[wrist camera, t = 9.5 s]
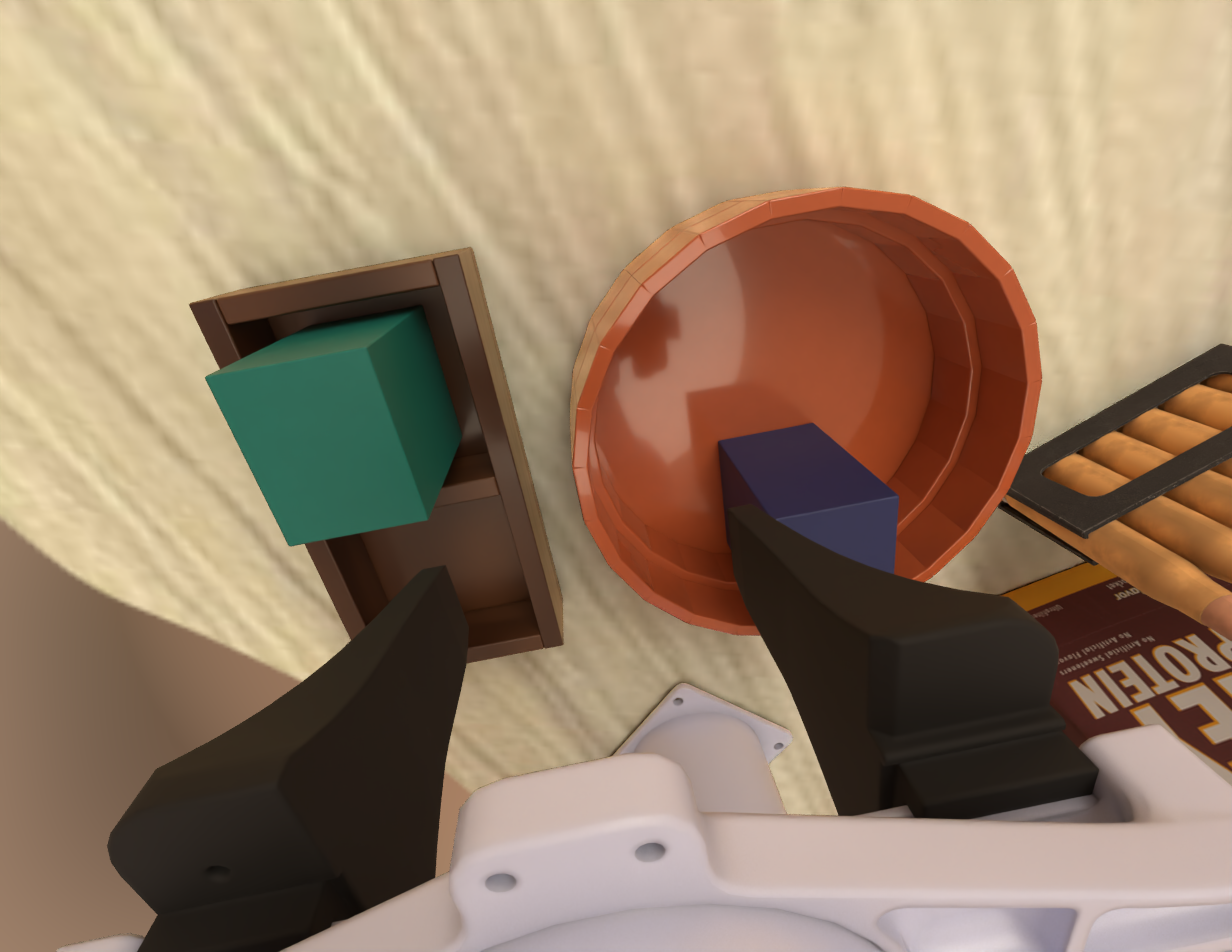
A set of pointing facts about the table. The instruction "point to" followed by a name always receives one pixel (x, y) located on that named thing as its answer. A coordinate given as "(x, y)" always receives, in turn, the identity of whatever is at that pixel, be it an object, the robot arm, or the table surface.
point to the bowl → (800, 379)
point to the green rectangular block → (344, 424)
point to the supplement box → (1134, 662)
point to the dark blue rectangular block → (812, 491)
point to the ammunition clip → (1146, 489)
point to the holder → (477, 478)
